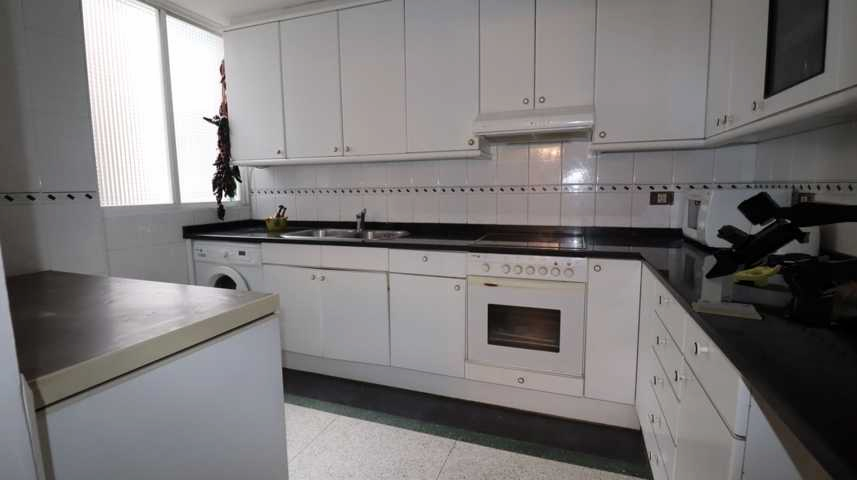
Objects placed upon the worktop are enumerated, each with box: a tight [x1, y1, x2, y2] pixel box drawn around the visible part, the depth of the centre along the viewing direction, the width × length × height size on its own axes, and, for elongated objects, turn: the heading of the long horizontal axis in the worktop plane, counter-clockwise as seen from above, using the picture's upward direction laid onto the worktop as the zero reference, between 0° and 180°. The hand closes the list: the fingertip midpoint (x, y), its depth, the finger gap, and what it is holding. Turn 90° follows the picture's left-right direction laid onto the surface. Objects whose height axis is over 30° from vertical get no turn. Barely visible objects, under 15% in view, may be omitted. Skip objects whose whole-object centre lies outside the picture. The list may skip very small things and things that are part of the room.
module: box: [700, 255, 735, 303], centre depth 107 cm, size 5×7×12 cm
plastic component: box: [701, 264, 782, 288], centre depth 128 cm, size 20×7×10 cm
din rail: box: [691, 298, 763, 320], centre depth 99 cm, size 13×7×2 cm, turn 62°
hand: (712, 276), depth 108 cm, fingers closed on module, 7 cm apart
